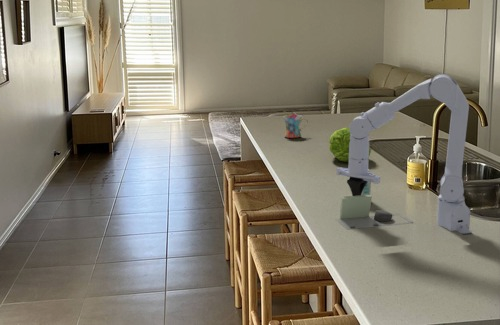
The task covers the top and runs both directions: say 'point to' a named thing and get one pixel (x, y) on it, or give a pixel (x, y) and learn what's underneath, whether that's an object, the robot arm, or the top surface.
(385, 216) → the dark grey pebble
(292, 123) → the mug
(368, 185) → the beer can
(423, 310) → the top surface
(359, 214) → the cover
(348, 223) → the grey ball tray
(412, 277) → the top surface
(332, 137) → the lettuce
